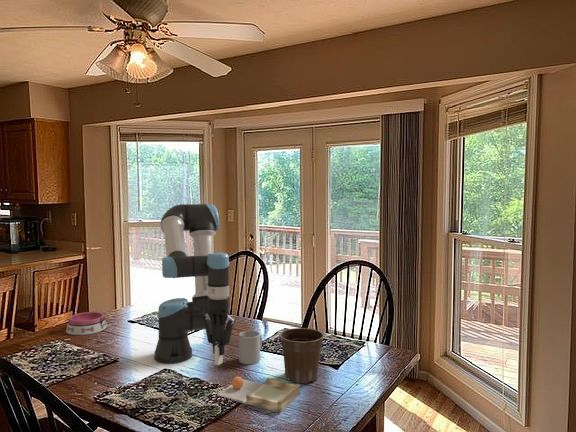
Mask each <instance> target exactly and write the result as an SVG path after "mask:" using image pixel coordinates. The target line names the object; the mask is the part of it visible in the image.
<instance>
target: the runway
mask: <svg viewBox="0 0 576 432" xmlns="http://www.w3.org/2000/svg"><path fill="white" fill-rule="evenodd" d="M242 379H243V378H242ZM287 393H288V391H284V390H280V389H276V388H272V387H267V386H266V383H260V382H256V381H254V380H253V381H252V380H248V379H243V386H242V387H241V388H239V389H235V388H234V387H233V386H232V384H230V385H229V386H227V387H226V388H224V389H223V390H222V391H220V392H218V393H217V394H216V396H217V397H219V396H221V397H220V398H222V397H224V398H223V399H226V398H227V400H230V399H231V401H234V402H238V403H242V404H246V395H247V394H251V395H255V396H259V397H263V398H267V399H271V400H275V401H279V400H280V399H281V398H282V397H283V396H284V395H285V394H287ZM300 395H301V392H300V393H299V396H300ZM299 396H298V395H297V397H296V398H294V399H293V400H292V401H291V402H290V403H289V404H288V405H286V407H284V410H285V409H286V408H287V407H288V406H289V405H290V404H292V403H293V402H294V400H296V399H297V398H298V397H299ZM246 405H247V404H246ZM257 406H258V405H257ZM264 408H265V407H264ZM264 408H262V407H261V408H260V409H264ZM265 410H267V408H266V409H265ZM272 410H273V411H272V412H275V410H274V409H272ZM284 410H283V409H282V410H281V411H282V412H283V411H284ZM281 411H280V414H281V413H282V412H281ZM276 413H278V411H277V412H276Z"/></svg>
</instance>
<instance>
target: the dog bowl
mask: <svg viewBox="0 0 576 432" xmlns="http://www.w3.org/2000/svg"><path fill="white" fill-rule="evenodd" d="M107 329H108V325H107V320H106V318H105V315H104V313H103V312H98V311H87V312H86V311H85V312H80V313H76V314H73V315H71V316H70V317H69V318H68V322H67V326H66V330H65V333H66V334H67V335H70V336H75V335H84V336H91V334H92V335H96V334H99V333H102V332H104V331H106V330H107Z"/></svg>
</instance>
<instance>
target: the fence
mask: <svg viewBox="0 0 576 432" xmlns="http://www.w3.org/2000/svg"><path fill="white" fill-rule="evenodd" d="M265 385H266V386H267V387H272V388H276V389H280V390H284V391H288V393H287V394H285V395H284V396H283V397H282V398H281V399H280V400H279V401H275V400H271V399H267V398H263V397H259V396H255V395H251V394H247V395H246V405H249V406H252V407H257V408H260V409H265V410H267V411H272V412H275V413H280V411H281V410H282V409H283V411H285V409H284V407H286V405H288V404H289V403H290V402H291V401H292V400H293V399H294V398H296V397H297V395H298V397H299V396H300V395H299V393H300V394H301V383H288V382H284V381H279V380H276V379H271V378H266V383H265ZM298 397H297V398H298ZM297 398H296V399H297ZM293 401H294V400H293ZM293 401H292V402H293ZM292 402H291V403H292ZM291 403H290V404H291ZM290 404H289V405H290ZM257 405H258V406H257ZM289 405H288V406H289ZM261 407H262V408H261ZM264 407H265V408H264ZM266 408H267V409H266ZM286 408H287V407H286ZM272 409H274V410H275V411H273V410H272ZM277 411H278V412H277ZM283 411H281V413H282V412H283ZM281 413H280V414H281Z"/></svg>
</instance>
